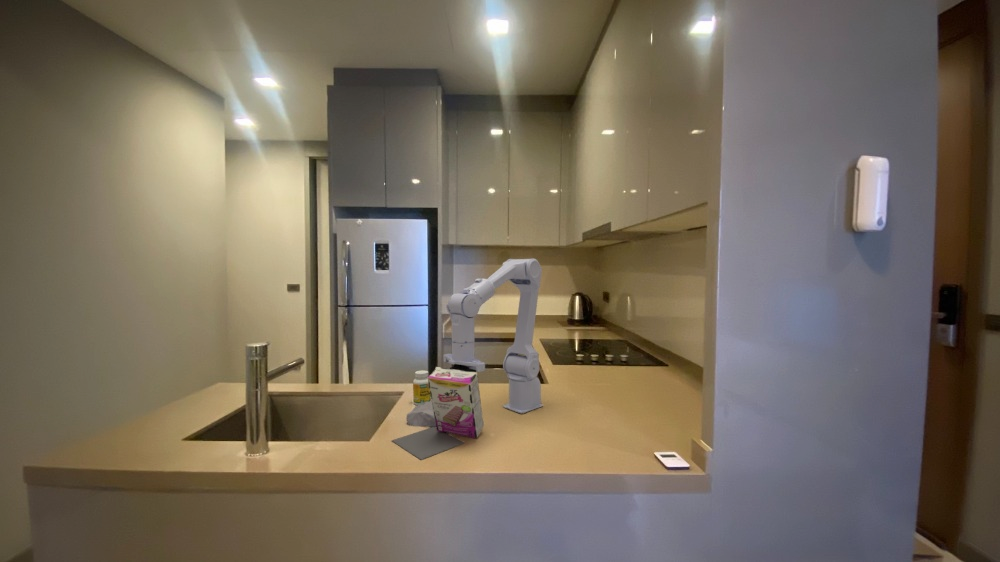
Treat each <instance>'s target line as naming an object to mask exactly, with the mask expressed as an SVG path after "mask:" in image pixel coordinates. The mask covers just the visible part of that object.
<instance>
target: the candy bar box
mask: <svg viewBox="0 0 1000 562" xmlns="http://www.w3.org/2000/svg"><path fill="white" fill-rule="evenodd" d="M428 382H429V388H430V394H431V401H432V405H433V411H434V416H435V422H436V428H437V431H439V432H445V433H447V434H449V435H456V436H461V437H465V438H466V437H467V438H472V439H478V437H479V435H480V434H481V431H482V430H483V428H484V426H485V425H484V417H483V416H484V415H483V411H482V410H483V409H482V403H481V402H482V401H481V394H480V393H481V392H480V385H479V375H478V372H477V371H476V372H469V371H462V370H454V369H450V368H448V367H440V366H435V368H434V370H432V372H431V374H428Z"/></svg>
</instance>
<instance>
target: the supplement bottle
mask: <svg viewBox="0 0 1000 562" xmlns="http://www.w3.org/2000/svg"><path fill="white" fill-rule="evenodd" d="M414 376H415V378H414V379H413V381H412V389H413V392H412V393H413V396H412V397H413V399H412V400H413V404H414V405H415V406H418V405H419V404H420V403H424V402H429V401H432V399H431V394H430V388H429V382H428V377H429V371H428V370H417V371H415V372H414Z"/></svg>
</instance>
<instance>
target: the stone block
mask: <svg viewBox="0 0 1000 562" xmlns="http://www.w3.org/2000/svg"><path fill="white" fill-rule="evenodd" d="M405 419H406V422H407V425H408V426H412V427H421V428H422V427H423V428H425V427H426V428H431V427H436V422H435V416H434V411H433V405H432V400H431V401H429V402H424V403H420V404H419V405H415V406H414V407H413V409H412V410H411V411H410V412H408V413H407V414H406V417H405Z"/></svg>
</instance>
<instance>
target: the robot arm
mask: <svg viewBox="0 0 1000 562" xmlns="http://www.w3.org/2000/svg"><path fill="white" fill-rule="evenodd" d="M542 271H543V267H542V266H541V264H540V262H539V261H538V259H536V258H522V259H521V258H518V259H517V258H515V259H514V258H509V259H506V261H504V262H502V265H501V267H500V268H498V269H497V270H495V272H494V273H492V274H491V275H490V276H489V277H488V278H476V279H475V280H474V283H472V284H471V285H469V286H468V287H465V288H463V289H462V291H461V293H454V294H452V295H451V296H450V297H449V299H448V301H447V304H446V305H445V308H446V311H447V312H448V314H449V320H450V322H451V353H445V354H443V355H442V356H443V358H442V359H443V362H444V363H448V364H451V365H453V366H451V367H449V369H454V370H462V371H469V372H477V373H481V372H485V371H486V363H485V362H483V361H481V360H480V359H477V358H476V357H475V352H476V351H475V347H476V346H475V340H476V339H475V332H476V331H475V316H477V315H478V313H479V311H480V308H481V307H482V306H483V304H486V302H487V301H489V300H490V299H491V298H493V297H494V295H495V293H496V292H495V291H496V289H498V288H500V287H501V286H502V285H504V284H505V283H507V282H510V283H511V284H512V285H513V286H515V287H516V288H517V289H518V290H519V292H520V295H519V301H518V312H517V319H516V325H515V334H514V341H513V344H512V345H511V346H509V347H508V348H506V353H505V354H506V355H505V357H504V358H503V363H502V368H503V371H504V373H505V374H506V377H507V378H508V403H506V404H503V405H502V407H503V408H505V409H507V410H510V411H513V412H516V413H518V414H522V413H523V414H525V413H528V412H531V411H533V410H536V409H539V408H541V407H544V404H543V403H542V400H541V399H542V395H541V394H542V385H541V381H540V379H539V377H537V376H538V374H539V372H540V360H539V356H540V354H539V352H538V351H537V350H536V349H535V347H534V346H533V339H534V333H535V326H536V325H535V323H536V315H537V307H538V299H539V290H540V287H541V282H542V281H541V279H542ZM523 414H522V415H523Z"/></svg>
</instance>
